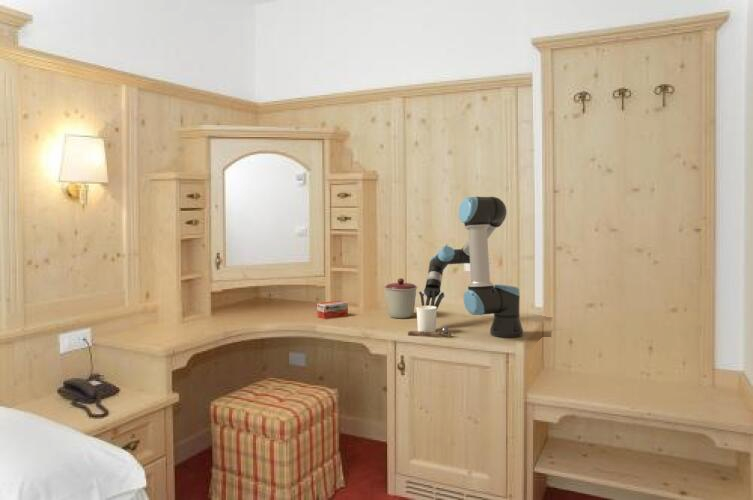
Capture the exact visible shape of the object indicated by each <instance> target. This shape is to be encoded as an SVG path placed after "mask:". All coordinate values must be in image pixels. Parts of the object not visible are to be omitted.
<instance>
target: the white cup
mask: <svg viewBox="0 0 753 500" xmlns="http://www.w3.org/2000/svg"><path fill="white" fill-rule="evenodd" d="M415 308H416V320H417V321H416V322H417V323H416V324H417V331H424V332H436V327H437V325H436V323H437V310H438V309H437V307H435V306H431V305H429V306H422V305H419V306H415Z"/></svg>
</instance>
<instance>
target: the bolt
mask: <svg viewBox="0 0 753 500" xmlns="http://www.w3.org/2000/svg"><path fill="white" fill-rule="evenodd" d="M441 329H442V330H441V332H442V333H443V334H448V333H449V327H448V326H447V327H446V326H445V327H442V328H441Z"/></svg>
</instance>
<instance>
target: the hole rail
mask: <svg viewBox="0 0 753 500" xmlns="http://www.w3.org/2000/svg"><path fill="white" fill-rule="evenodd" d="M407 336H412V337H429V338H431V337H432V338H447V339H449V338H451V337H452V332H448V334H443V333H442V331H441V332H439V331H435V332H424V331H418V330H409V331H408V332H407Z"/></svg>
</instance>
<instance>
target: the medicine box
mask: <svg viewBox="0 0 753 500" xmlns="http://www.w3.org/2000/svg"><path fill="white" fill-rule="evenodd" d="M348 306H349V305H348V301H343V300H332V301H326V302H324V301H323V302H318V303H317V305H316V311H317V312H316V313H317V314H316V315H317V318H319V319H323V320H329V319H338V318H346V317H348V314H349V307H348Z"/></svg>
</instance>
